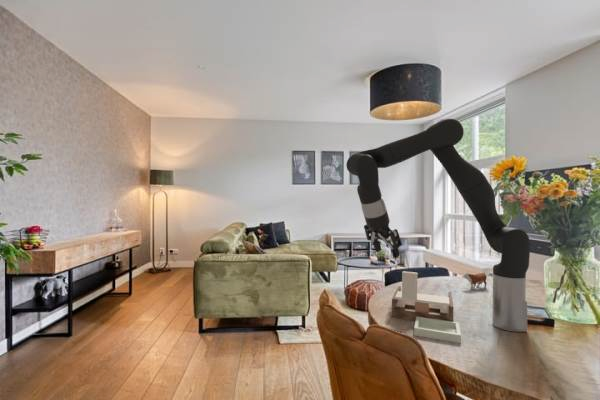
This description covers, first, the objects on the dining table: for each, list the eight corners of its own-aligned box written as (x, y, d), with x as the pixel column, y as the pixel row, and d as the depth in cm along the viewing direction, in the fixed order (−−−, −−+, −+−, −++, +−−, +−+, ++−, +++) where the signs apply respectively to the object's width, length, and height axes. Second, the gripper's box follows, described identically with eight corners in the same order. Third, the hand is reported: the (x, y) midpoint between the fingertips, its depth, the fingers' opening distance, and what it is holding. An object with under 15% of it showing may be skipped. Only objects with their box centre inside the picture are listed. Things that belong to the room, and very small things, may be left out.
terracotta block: (428, 312, 116) (429, 299, 116) (428, 316, 111) (428, 303, 111) (415, 310, 117) (415, 298, 117) (414, 314, 113) (415, 301, 113)
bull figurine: (460, 288, 156) (461, 271, 156) (482, 286, 160) (482, 270, 160) (468, 290, 152) (468, 273, 152) (490, 288, 156) (490, 271, 156)
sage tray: (458, 329, 104) (458, 322, 104) (460, 343, 94) (460, 335, 94) (416, 323, 109) (416, 316, 109) (414, 335, 99) (414, 327, 99)
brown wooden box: (451, 308, 125) (451, 291, 125) (453, 326, 107) (453, 307, 107) (398, 301, 133) (398, 286, 133) (391, 317, 115) (391, 299, 115)
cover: (448, 299, 115) (449, 271, 115) (449, 306, 107) (449, 276, 107) (397, 293, 122) (398, 267, 122) (395, 299, 114) (395, 271, 114)
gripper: (399, 209, 100) (410, 253, 105) (368, 204, 113) (380, 244, 117) (382, 220, 97) (395, 265, 102) (352, 213, 110) (365, 254, 114)
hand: (387, 253), depth 110 cm, fingers open, 8 cm apart
